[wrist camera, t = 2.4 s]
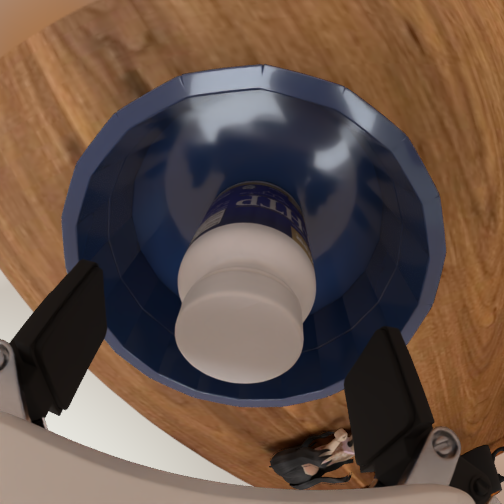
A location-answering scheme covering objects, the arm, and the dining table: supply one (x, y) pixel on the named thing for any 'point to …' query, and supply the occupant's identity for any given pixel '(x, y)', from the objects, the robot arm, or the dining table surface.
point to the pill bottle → (246, 286)
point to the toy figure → (314, 461)
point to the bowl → (267, 170)
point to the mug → (486, 465)
